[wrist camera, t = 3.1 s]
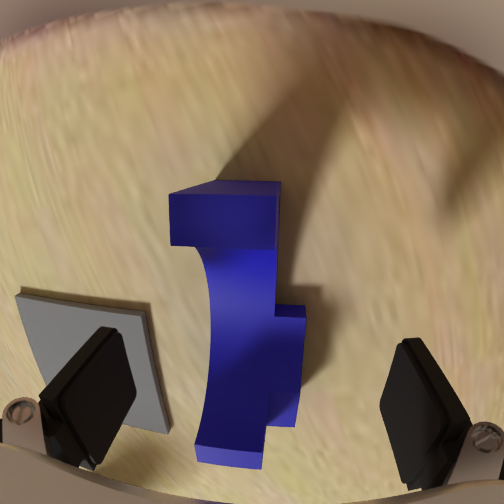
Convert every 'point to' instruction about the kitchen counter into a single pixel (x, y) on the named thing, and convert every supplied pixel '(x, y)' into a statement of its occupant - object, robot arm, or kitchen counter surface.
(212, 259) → the blue angular piece
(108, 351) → the robot arm
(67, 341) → the mat
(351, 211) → the kitchen counter surface
